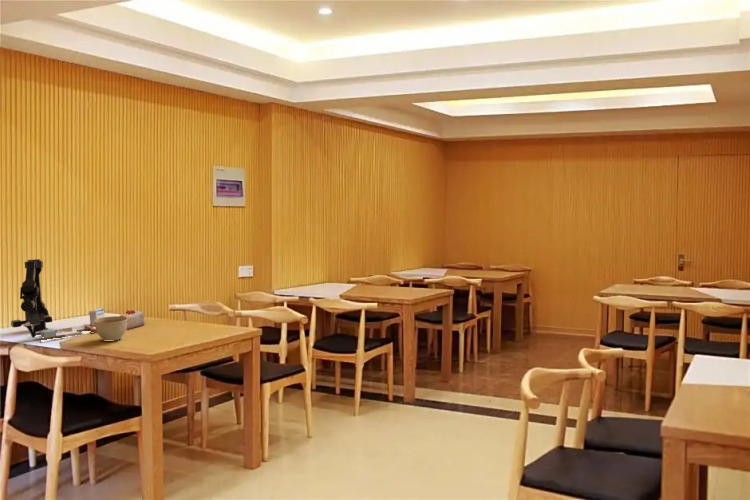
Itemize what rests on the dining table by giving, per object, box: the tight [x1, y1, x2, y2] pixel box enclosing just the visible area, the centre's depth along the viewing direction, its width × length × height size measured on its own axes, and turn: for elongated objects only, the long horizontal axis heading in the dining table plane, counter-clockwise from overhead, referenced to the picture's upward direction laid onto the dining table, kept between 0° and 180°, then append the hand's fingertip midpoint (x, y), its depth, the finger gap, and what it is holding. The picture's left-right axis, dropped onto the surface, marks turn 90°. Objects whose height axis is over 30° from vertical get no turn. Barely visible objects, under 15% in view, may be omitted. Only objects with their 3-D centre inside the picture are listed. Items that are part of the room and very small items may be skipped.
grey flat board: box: [35, 324, 98, 341], centre depth 376 cm, size 17×28×2 cm, turn 130°
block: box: [39, 328, 57, 338], centre depth 371 cm, size 6×6×4 cm
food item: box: [119, 309, 145, 331], centre depth 390 cm, size 14×8×10 cm, turn 149°
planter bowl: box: [94, 315, 128, 341], centre depth 362 cm, size 16×16×11 cm
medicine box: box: [88, 307, 105, 327], centre depth 400 cm, size 8×4×9 cm, turn 168°
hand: (33, 337), depth 366 cm, fingers closed
